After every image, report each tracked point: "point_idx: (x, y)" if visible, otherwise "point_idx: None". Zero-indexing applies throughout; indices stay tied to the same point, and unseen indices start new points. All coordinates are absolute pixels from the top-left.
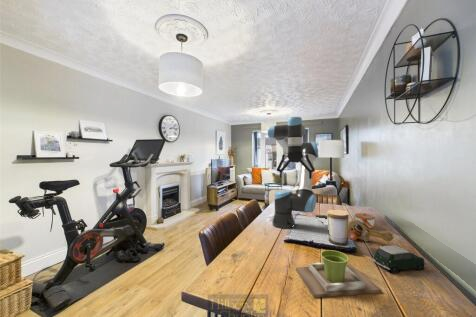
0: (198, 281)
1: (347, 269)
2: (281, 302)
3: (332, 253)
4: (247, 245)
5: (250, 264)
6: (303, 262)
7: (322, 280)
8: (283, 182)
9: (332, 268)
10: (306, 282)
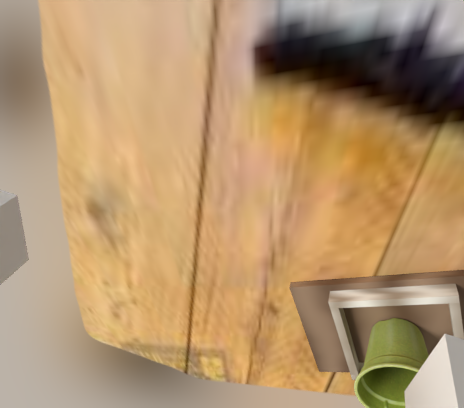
0: (81, 312)
1: (454, 334)
2: (252, 368)
3: (408, 362)
4: (105, 136)
5: (159, 257)
6: (323, 244)
7: (348, 365)
8: (8, 259)
9: (379, 388)
10: (310, 340)
